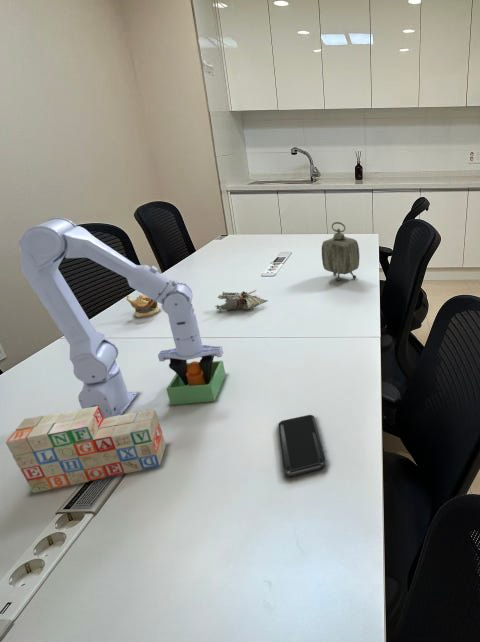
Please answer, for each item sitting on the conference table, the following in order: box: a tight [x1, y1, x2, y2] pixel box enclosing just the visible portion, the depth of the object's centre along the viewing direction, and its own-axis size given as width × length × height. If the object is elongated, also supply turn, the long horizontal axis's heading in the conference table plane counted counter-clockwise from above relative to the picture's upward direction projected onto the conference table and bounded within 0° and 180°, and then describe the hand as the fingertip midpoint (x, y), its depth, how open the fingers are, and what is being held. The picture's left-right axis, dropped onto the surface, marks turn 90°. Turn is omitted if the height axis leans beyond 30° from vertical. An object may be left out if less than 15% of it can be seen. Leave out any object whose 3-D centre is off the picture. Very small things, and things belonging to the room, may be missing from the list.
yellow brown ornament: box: [126, 293, 160, 319], centre depth 140 cm, size 12×10×8 cm
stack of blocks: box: [5, 406, 166, 494], centre depth 73 cm, size 21×6×12 cm, turn 105°
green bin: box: [166, 360, 227, 406], centre depth 97 cm, size 11×10×5 cm
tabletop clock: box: [321, 221, 360, 281], centre depth 165 cm, size 14×9×25 cm, turn 58°
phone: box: [278, 414, 327, 478], centre depth 79 cm, size 8×1×15 cm
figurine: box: [214, 288, 269, 311], centre depth 143 cm, size 20×6×17 cm
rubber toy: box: [186, 360, 208, 386], centre depth 96 cm, size 4×4×7 cm
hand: (198, 382), depth 97 cm, fingers closed on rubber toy, 4 cm apart
